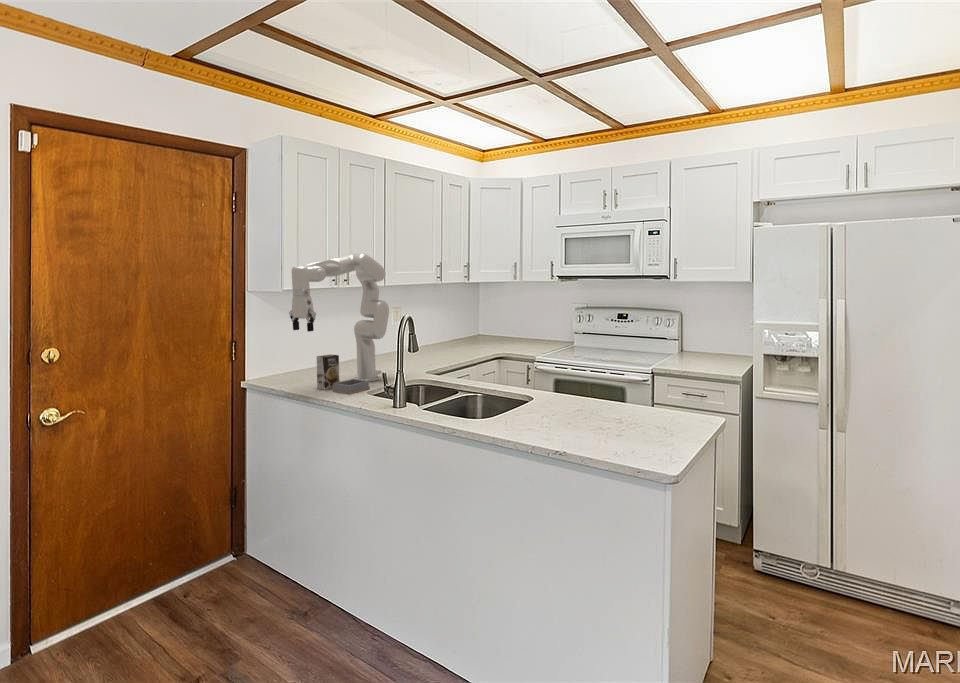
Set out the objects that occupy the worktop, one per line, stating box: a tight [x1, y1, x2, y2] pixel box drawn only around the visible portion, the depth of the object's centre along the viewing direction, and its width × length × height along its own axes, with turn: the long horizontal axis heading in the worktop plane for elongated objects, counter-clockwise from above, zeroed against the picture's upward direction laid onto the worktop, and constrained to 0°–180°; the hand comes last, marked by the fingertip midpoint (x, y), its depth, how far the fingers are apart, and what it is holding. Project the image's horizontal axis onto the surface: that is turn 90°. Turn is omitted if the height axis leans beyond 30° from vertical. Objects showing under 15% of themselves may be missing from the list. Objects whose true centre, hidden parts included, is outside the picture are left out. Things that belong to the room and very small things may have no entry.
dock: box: [332, 378, 371, 395], centre depth 273 cm, size 14×11×4 cm
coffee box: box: [316, 354, 340, 391], centre depth 278 cm, size 9×6×16 cm
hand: (303, 330), depth 262 cm, fingers open, 9 cm apart
